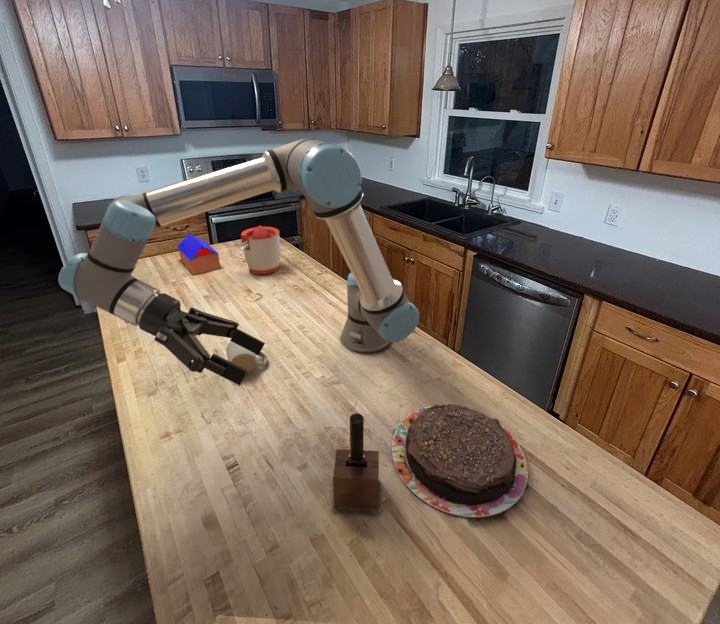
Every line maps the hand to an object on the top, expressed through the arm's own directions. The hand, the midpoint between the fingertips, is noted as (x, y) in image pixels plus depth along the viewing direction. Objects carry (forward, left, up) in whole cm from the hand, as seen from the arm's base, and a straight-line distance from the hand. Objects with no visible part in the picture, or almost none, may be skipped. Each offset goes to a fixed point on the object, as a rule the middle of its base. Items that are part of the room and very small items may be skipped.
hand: (253, 362), depth 74 cm
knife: (-12, +18, -23) cm, 32 cm away
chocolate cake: (-35, +20, -24) cm, 47 cm away
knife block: (-12, +18, -24) cm, 32 cm away
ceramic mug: (-3, -31, -24) cm, 39 cm away
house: (-1, -112, -24) cm, 114 cm away
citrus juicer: (-24, -93, -24) cm, 99 cm away
